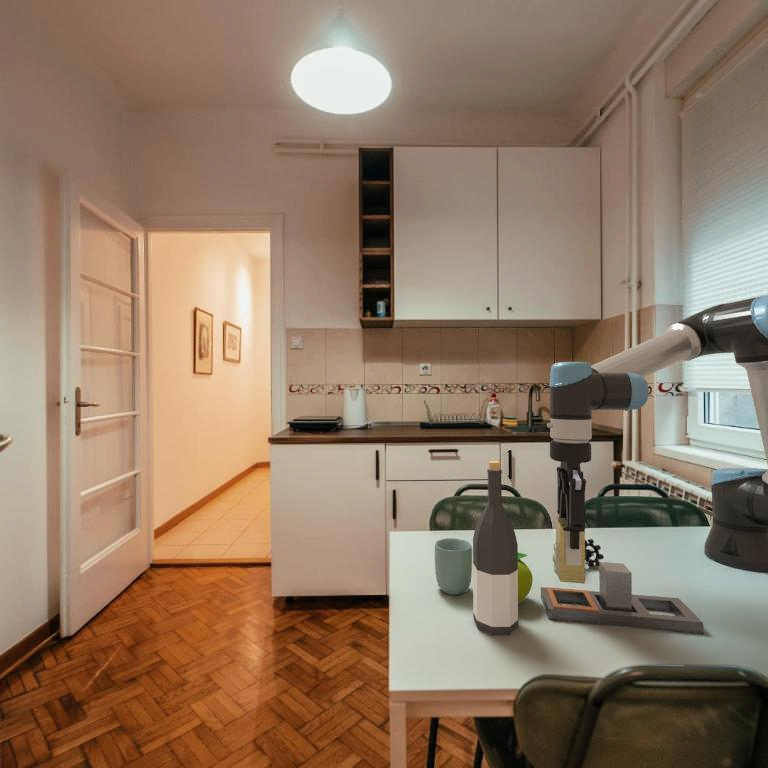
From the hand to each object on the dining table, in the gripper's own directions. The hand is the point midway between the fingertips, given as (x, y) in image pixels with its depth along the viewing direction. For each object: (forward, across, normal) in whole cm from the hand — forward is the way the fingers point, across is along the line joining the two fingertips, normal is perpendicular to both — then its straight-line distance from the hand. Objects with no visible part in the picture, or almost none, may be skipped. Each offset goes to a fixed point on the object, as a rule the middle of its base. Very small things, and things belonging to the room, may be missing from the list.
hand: (570, 558), depth 85 cm
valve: (+10, -20, +5) cm, 23 cm away
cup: (+10, -4, -23) cm, 25 cm away
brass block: (+4, 0, 0) cm, 4 cm away
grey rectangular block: (+10, 0, +8) cm, 13 cm away
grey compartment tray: (+10, 0, +8) cm, 13 cm away
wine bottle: (+10, +8, -15) cm, 20 cm away
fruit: (+10, -1, -12) cm, 16 cm away
